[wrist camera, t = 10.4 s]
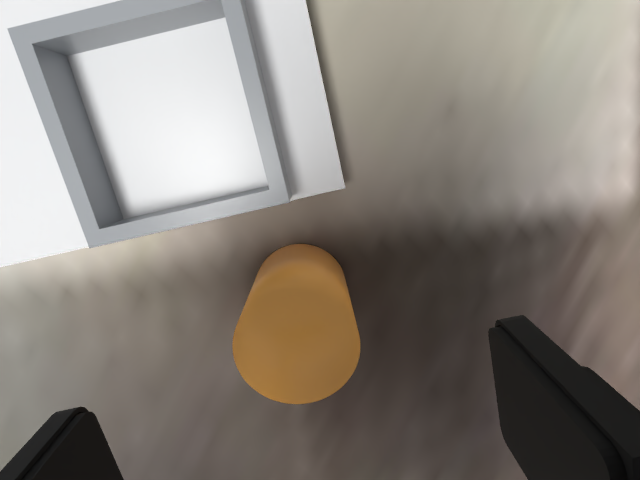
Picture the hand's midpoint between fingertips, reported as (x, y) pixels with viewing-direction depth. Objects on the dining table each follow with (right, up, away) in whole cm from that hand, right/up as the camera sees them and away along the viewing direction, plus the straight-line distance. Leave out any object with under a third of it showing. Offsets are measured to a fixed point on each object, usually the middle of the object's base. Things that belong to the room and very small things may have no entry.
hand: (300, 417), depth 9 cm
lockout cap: (0, +2, +10) cm, 11 cm away
